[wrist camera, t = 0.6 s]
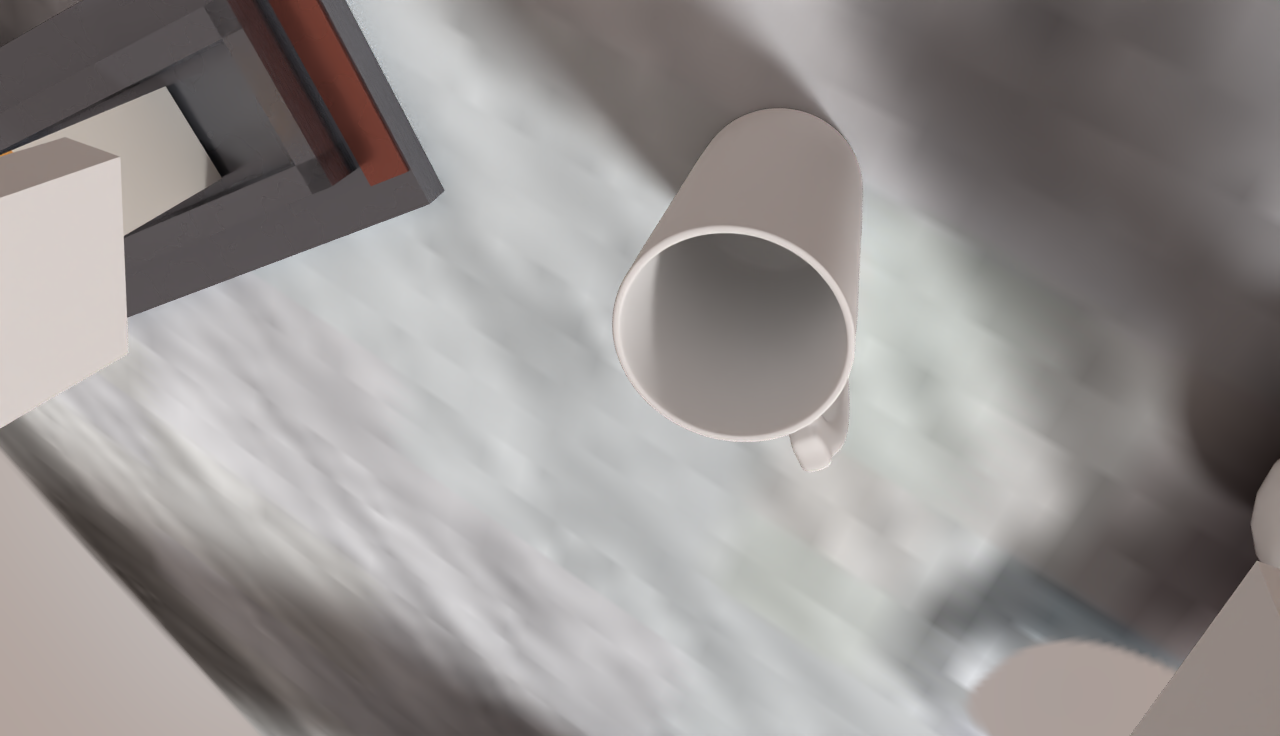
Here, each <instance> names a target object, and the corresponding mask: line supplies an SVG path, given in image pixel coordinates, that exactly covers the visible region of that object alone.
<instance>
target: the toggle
mask: <svg viewBox="0 0 1280 736" xmlns="http://www.w3.org/2000/svg"><path fill="white" fill-rule="evenodd" d="M63 137H67V138H69V139H72V140H75V141H78V142H81V143H83V144H86V145H89V146H92V147H95V148H97V149H100V150H103V151H106V152H109V153H112V154H114V155H117V156H120V162H121V186H122V210H123V234H124V236H125V235H126V234H128V233H130V232H131V231H133V230H135V229H136V228H138V227H140V226H142V225H143V224H145V223H147V222H148V221H150V220H152V219H154V218H155V217H157V216H159V215H160V214H162V213H164V212H166V211H167V210H169V209H171V208H172V207H174V206H176V205H178V204H179V203H181V202H183V201H184V200H186V199H188V198H190V197H191V196H193V195H195V194H196V193H198V192H200V191H201V190H203V189H205V188H207V187H208V186H210V185H212V184H213V183H215V182H217V181H219V180H220V179H222V177H221V176H220V174H219V172H218V171H217V169H216V167H215V166H214V164H213V163H212V161H211V159H210V158H209V156H208V154H207V153H206V151H205V149H204V148H203V146H202V145H201V143H200V141H199V140H198V138H197V136H196V135H195V133H194V132H193V130H192V128H191V127H190V125H189V123H188V122H187V120H186V119H185V117H184V115H183V114H182V112H181V110H180V109H179V107H178V106H177V104H176V102H175V101H174V99H173V97H172V96H171V94H170V93H169V91H168V89H167V88H166V86H165V87H163V88H160V89H158V90H155V91H153V92H151V93H148V94H146V95H143V96H141V97H139V98H136V99H134V100H131V101H129V102H127V103H124V104H122V105H119V106H117V107H115V108H112V109H110V110H107V111H105V112H103V113H100V114H98V115H95V116H93V117H91V118H88V119H86V120H83V121H81V122H79V123H76V124H74V125H71V126H69V127H67V128H64V129H62V130H59V131H57V132H55V133H52V134H50V135H47V136H45V137H43V138H40V139H38V140H35V141H33V142H30V143H28V144H26V145H23V146H21V147H18V148H16V149H14V150H11V151H9V152H6V153H4V154H2V155H0V156H4V155H7V154H10V153H14V152H17V151H20V150H24V149H27V148H30V147H34V146H37V145H40V144H44V143H47V142H50V141H54V140H57V139H60V138H63Z"/></svg>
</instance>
